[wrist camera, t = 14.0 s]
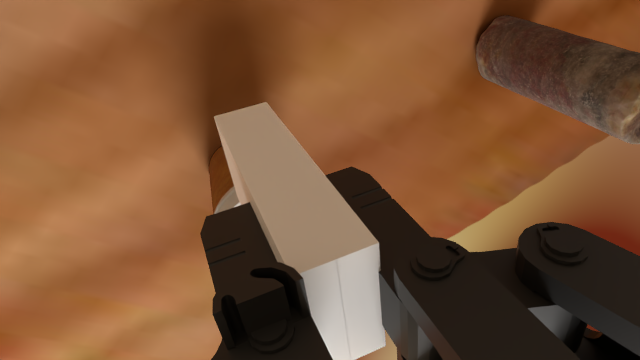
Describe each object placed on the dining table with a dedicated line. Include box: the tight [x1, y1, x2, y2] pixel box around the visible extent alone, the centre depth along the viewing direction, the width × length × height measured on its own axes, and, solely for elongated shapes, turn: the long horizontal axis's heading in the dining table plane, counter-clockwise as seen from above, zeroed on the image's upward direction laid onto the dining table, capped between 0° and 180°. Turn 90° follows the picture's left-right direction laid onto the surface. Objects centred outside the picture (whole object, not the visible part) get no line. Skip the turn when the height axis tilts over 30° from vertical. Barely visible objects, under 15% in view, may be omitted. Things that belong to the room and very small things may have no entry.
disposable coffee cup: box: [209, 146, 241, 214], centre depth 41 cm, size 10×10×12 cm
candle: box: [476, 16, 640, 144], centre depth 43 cm, size 8×7×20 cm
